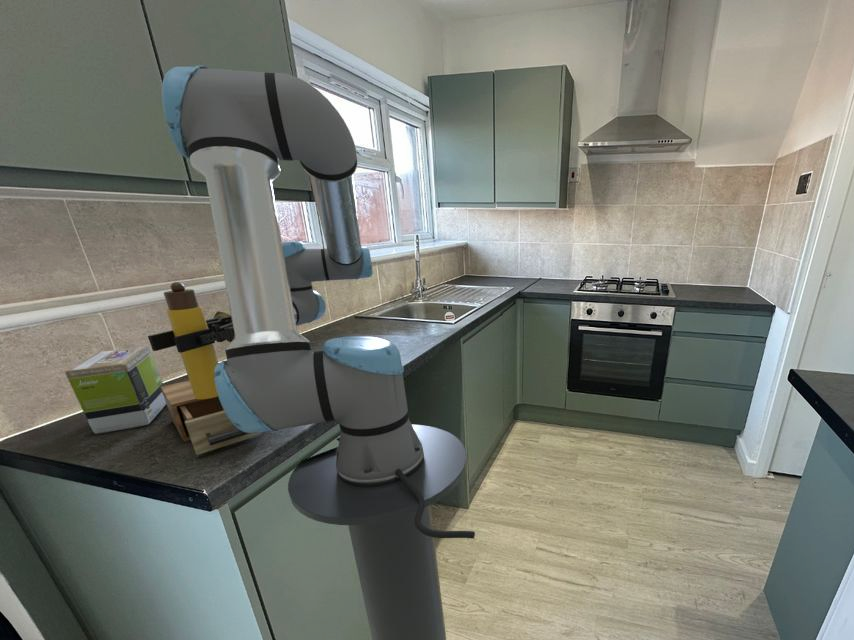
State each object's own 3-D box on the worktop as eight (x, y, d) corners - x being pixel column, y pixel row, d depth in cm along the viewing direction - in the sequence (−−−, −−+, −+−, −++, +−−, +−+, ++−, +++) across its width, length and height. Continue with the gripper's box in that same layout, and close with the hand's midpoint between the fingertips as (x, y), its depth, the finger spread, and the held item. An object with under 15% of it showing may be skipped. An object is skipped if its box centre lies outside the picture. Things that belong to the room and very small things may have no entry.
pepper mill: (229, 393, 81) (196, 281, 74) (197, 401, 78) (159, 284, 70) (223, 387, 85) (190, 279, 77) (192, 394, 82) (155, 282, 74)
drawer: (269, 441, 82) (261, 410, 79) (201, 463, 74) (189, 430, 72) (244, 415, 93) (236, 387, 91) (183, 432, 86) (173, 403, 84)
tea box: (121, 408, 101) (97, 350, 96) (171, 401, 104) (151, 344, 99) (91, 435, 88) (62, 369, 83) (150, 425, 92) (125, 362, 86)
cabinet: (252, 421, 92) (242, 386, 89) (184, 442, 84) (170, 404, 81) (235, 404, 102) (225, 372, 99) (172, 421, 93) (160, 386, 90)
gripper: (306, 334, 93) (211, 367, 72) (240, 331, 97) (133, 361, 76) (299, 300, 90) (198, 324, 69) (232, 299, 94) (118, 321, 74)
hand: (164, 344), depth 73 cm, fingers closed on pepper mill, 5 cm apart
